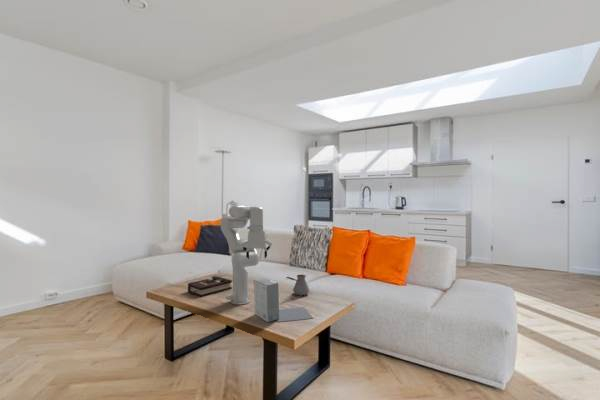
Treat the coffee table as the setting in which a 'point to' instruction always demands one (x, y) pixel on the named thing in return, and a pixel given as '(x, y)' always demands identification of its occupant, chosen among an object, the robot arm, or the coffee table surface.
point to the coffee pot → (300, 285)
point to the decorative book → (209, 286)
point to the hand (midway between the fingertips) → (256, 258)
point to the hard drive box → (266, 299)
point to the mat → (293, 314)
